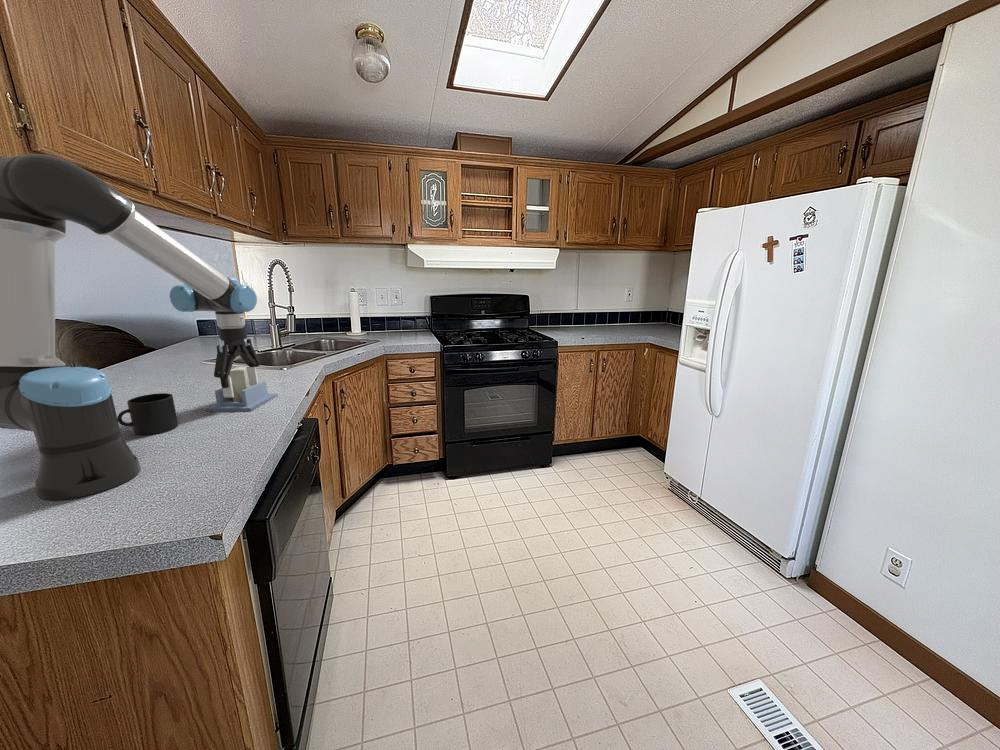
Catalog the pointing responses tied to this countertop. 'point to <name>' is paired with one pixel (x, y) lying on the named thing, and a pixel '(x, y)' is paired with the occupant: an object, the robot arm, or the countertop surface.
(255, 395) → the slot bracket
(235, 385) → the box
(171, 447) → the countertop surface
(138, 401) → the mug
